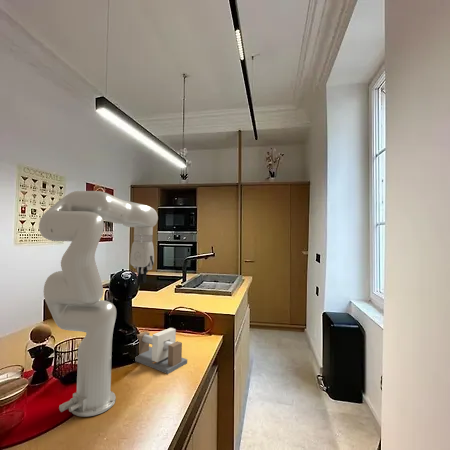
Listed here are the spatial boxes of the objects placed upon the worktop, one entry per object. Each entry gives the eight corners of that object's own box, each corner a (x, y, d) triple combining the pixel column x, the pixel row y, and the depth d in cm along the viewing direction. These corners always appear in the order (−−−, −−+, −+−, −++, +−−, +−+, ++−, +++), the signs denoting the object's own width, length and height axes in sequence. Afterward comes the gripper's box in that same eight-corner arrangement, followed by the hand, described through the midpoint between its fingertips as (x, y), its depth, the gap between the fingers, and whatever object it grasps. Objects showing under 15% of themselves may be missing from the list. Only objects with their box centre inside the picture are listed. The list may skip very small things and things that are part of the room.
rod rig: (167, 374, 108) (168, 349, 108) (129, 358, 120) (129, 336, 120) (187, 363, 117) (187, 340, 117) (149, 349, 129) (149, 329, 129)
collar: (157, 362, 112) (158, 336, 112) (151, 360, 114) (152, 334, 114) (175, 353, 120) (175, 329, 120) (169, 351, 122) (170, 327, 122)
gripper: (124, 238, 123) (123, 282, 123) (148, 240, 115) (147, 286, 115) (138, 238, 130) (137, 279, 129) (162, 239, 122) (161, 283, 121)
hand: (142, 282), depth 122 cm, fingers closed
